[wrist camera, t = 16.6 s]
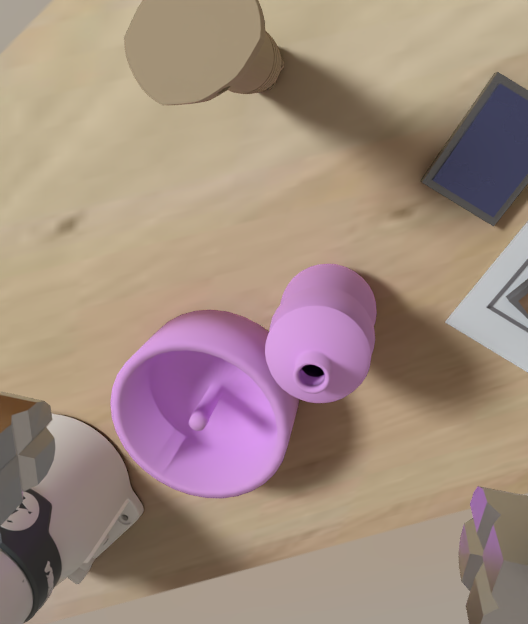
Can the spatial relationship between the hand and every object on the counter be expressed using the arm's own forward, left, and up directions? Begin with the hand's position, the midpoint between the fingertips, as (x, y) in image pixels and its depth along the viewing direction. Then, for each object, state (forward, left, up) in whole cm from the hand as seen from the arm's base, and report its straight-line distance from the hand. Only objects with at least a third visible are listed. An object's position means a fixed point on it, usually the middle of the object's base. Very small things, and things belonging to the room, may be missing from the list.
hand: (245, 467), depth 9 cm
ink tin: (+8, -7, -31) cm, 33 cm away
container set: (-16, -1, -31) cm, 35 cm away
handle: (+5, +10, -31) cm, 33 cm away
